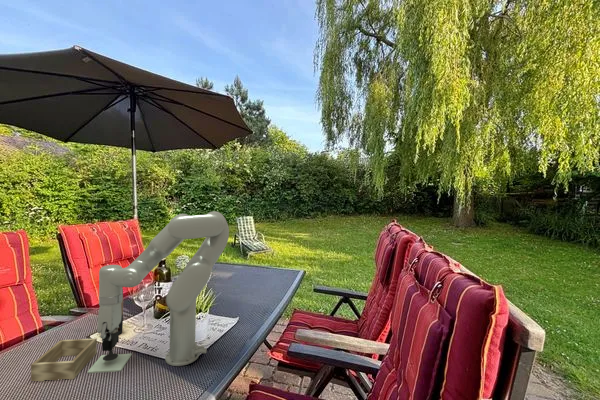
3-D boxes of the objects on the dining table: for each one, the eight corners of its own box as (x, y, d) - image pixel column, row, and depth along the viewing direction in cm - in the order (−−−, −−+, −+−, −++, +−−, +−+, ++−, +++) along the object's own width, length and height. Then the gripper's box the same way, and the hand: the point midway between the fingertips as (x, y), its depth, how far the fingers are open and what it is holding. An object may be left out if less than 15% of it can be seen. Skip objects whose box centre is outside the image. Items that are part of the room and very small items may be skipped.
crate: (96, 353, 126) (96, 338, 126) (73, 379, 109) (73, 362, 109) (60, 355, 124) (60, 340, 123) (31, 382, 107) (31, 364, 107)
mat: (131, 355, 125) (131, 353, 125) (120, 371, 114) (120, 369, 114) (101, 356, 123) (101, 355, 123) (87, 373, 113) (87, 371, 113)
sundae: (116, 350, 124) (116, 313, 123) (123, 357, 119) (124, 318, 119) (97, 357, 118) (97, 318, 118) (104, 364, 114) (104, 323, 114)
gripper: (109, 291, 126) (109, 335, 126) (88, 308, 109) (88, 359, 110) (130, 290, 127) (129, 335, 128) (112, 307, 110) (112, 358, 111)
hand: (110, 345), depth 119 cm, fingers closed on sundae, 5 cm apart
